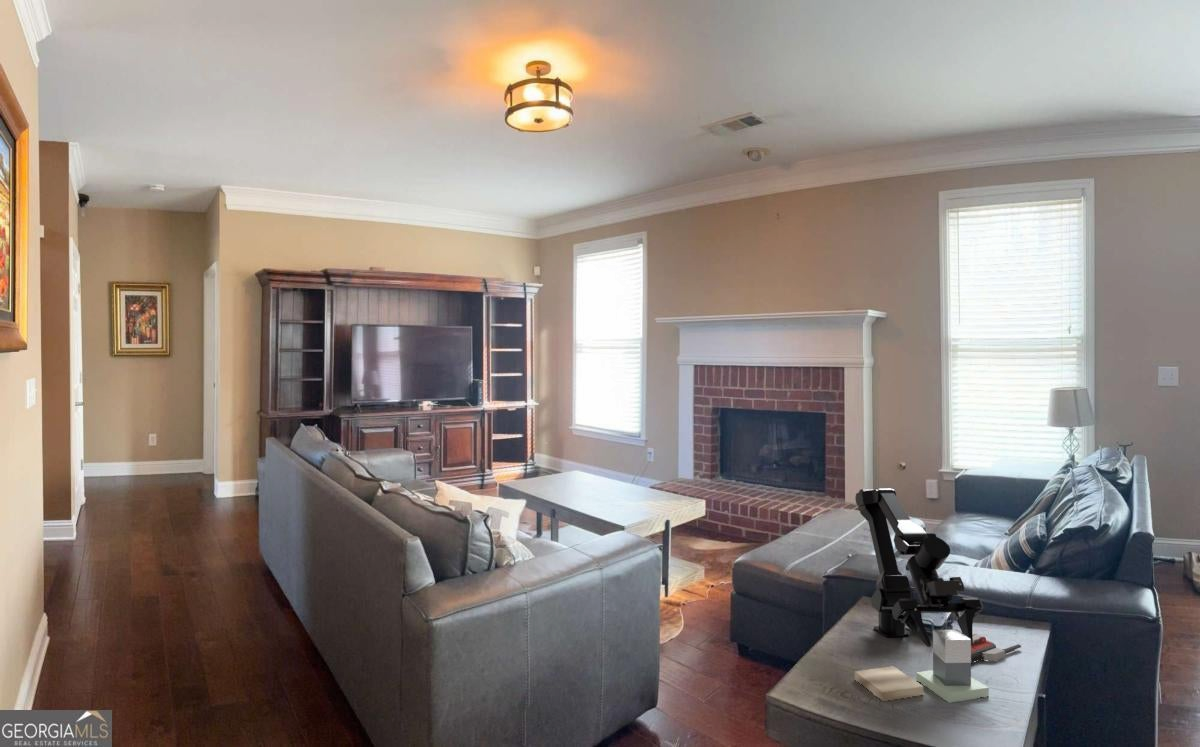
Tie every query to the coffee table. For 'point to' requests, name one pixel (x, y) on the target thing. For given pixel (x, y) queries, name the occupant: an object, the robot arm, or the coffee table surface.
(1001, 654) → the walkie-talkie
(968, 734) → the coffee table surface
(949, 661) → the block
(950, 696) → the stand
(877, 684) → the stand
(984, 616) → the coffee table surface
